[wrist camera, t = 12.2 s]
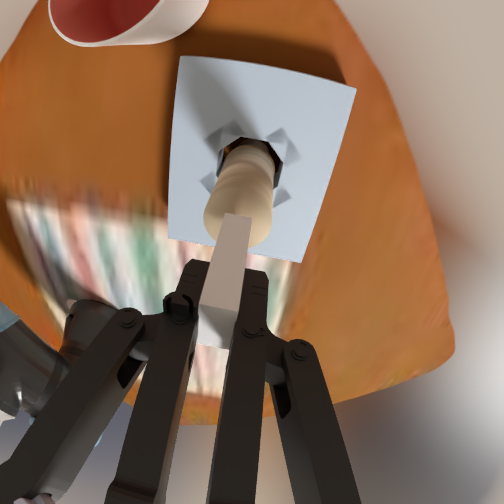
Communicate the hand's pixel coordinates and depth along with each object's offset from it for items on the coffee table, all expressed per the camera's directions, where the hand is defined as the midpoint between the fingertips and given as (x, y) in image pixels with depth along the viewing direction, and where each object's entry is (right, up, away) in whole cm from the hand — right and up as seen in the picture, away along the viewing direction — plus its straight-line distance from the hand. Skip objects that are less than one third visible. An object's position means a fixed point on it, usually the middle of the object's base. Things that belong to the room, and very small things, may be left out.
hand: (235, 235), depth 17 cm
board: (+1, +8, +11) cm, 14 cm away
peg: (+1, +8, +11) cm, 14 cm away
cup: (-7, +22, +1) cm, 23 cm away
